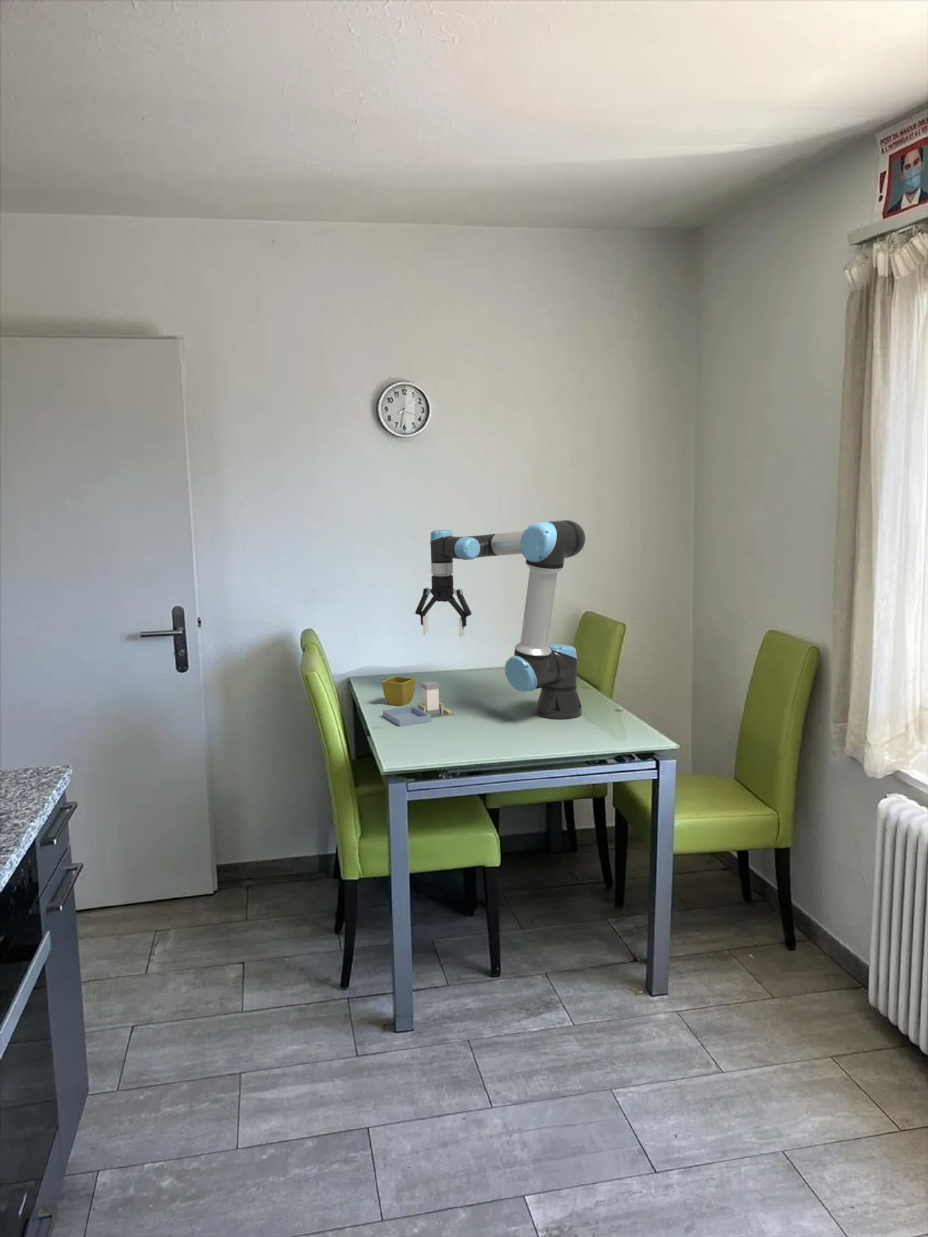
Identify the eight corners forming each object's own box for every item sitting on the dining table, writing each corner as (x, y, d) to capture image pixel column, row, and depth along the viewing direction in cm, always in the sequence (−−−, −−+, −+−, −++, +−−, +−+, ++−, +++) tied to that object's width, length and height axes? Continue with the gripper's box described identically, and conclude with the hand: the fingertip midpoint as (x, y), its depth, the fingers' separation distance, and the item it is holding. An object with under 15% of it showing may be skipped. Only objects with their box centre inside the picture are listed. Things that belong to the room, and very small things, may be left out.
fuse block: (454, 715, 300) (454, 705, 300) (427, 720, 296) (427, 709, 295) (439, 707, 311) (438, 697, 310) (412, 711, 306) (412, 701, 306)
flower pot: (381, 706, 314) (381, 681, 313) (395, 700, 322) (394, 675, 320) (403, 709, 310) (402, 683, 309) (416, 703, 318) (416, 678, 316)
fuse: (439, 713, 302) (439, 683, 300) (427, 715, 300) (426, 685, 298) (433, 710, 306) (433, 681, 304) (421, 712, 304) (420, 682, 302)
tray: (431, 723, 292) (431, 715, 291) (399, 728, 287) (399, 720, 287) (413, 713, 304) (413, 706, 304) (382, 717, 299) (382, 710, 299)
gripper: (479, 574, 314) (480, 634, 317) (413, 572, 323) (415, 631, 326) (472, 576, 307) (473, 638, 310) (404, 575, 316) (406, 635, 319)
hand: (443, 635), depth 318 cm, fingers open, 13 cm apart
